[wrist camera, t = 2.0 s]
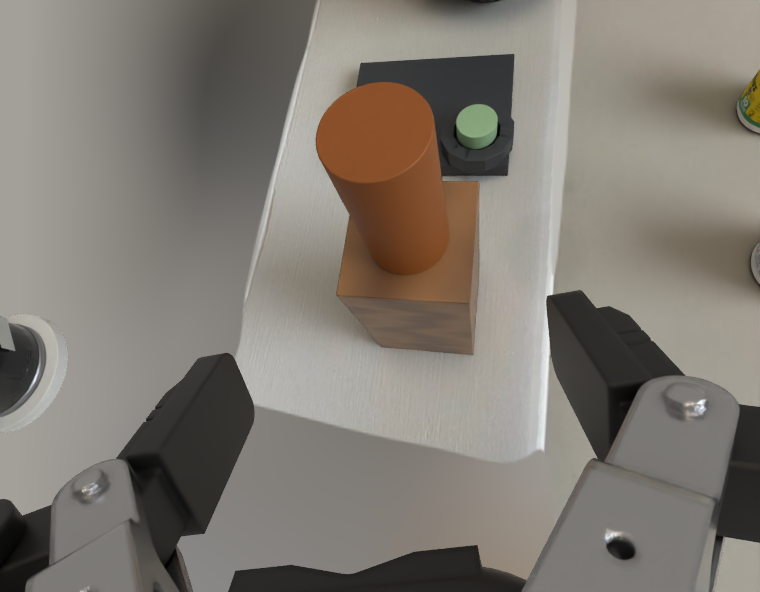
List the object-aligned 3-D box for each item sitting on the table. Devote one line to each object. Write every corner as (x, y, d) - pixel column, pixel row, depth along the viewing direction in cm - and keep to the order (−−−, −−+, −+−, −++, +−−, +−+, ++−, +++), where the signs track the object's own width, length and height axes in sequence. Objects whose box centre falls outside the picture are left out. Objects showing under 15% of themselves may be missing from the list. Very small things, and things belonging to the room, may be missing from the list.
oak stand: (381, 347, 41) (335, 295, 28) (392, 263, 43) (354, 180, 30) (473, 355, 39) (470, 303, 26) (479, 267, 41) (479, 180, 29)
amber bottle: (363, 273, 28) (305, 182, 19) (374, 201, 30) (325, 83, 20) (445, 277, 27) (427, 183, 18) (452, 201, 28) (439, 78, 19)
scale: (345, 182, 47) (335, 161, 44) (364, 74, 52) (356, 49, 48) (509, 182, 44) (512, 160, 40) (515, 66, 48) (518, 38, 45)
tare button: (455, 150, 42) (454, 137, 41) (458, 117, 43) (457, 104, 42) (495, 149, 42) (496, 137, 40) (497, 116, 43) (498, 103, 41)
